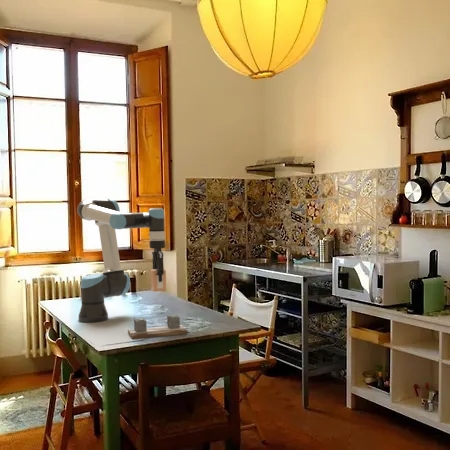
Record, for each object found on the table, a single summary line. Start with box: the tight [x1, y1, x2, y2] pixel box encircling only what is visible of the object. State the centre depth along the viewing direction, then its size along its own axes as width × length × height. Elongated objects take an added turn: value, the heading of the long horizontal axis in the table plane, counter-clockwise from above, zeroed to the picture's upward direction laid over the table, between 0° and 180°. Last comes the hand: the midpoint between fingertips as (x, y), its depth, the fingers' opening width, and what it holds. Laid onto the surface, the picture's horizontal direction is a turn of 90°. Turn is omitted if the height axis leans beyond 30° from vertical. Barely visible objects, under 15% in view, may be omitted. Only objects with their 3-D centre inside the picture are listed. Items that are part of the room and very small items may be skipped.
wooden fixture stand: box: [127, 314, 188, 340], centre depth 244 cm, size 12×25×7 cm, turn 109°
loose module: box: [150, 268, 167, 292], centre depth 259 cm, size 6×6×10 cm
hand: (158, 287), depth 259 cm, fingers closed on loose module, 6 cm apart
